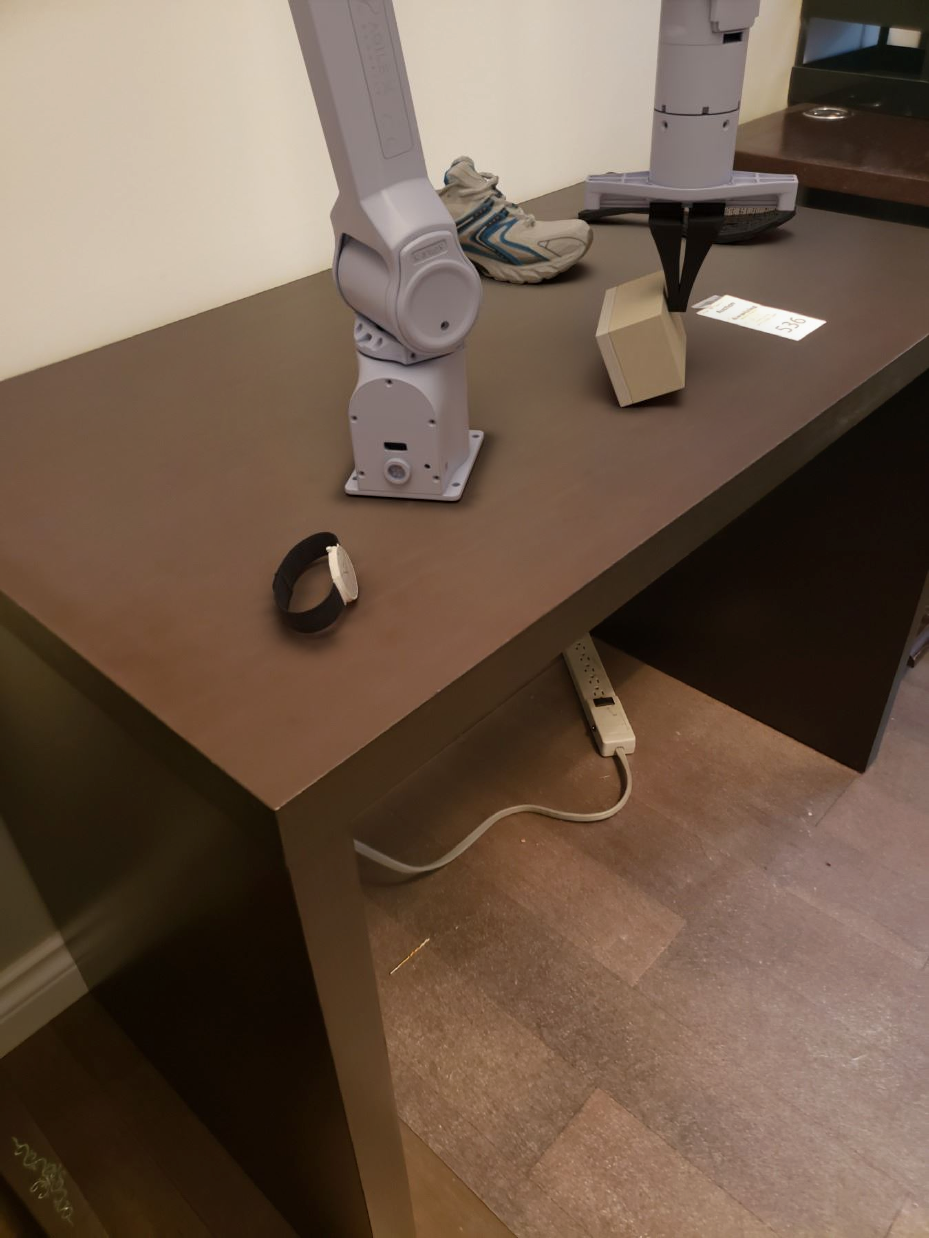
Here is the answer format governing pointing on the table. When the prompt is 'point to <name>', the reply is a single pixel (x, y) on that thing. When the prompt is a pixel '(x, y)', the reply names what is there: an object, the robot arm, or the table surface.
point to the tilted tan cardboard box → (642, 340)
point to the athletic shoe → (508, 230)
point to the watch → (341, 576)
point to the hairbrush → (732, 229)
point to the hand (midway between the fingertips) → (677, 307)
